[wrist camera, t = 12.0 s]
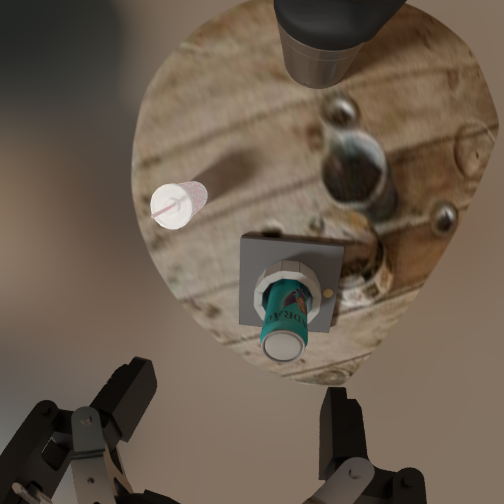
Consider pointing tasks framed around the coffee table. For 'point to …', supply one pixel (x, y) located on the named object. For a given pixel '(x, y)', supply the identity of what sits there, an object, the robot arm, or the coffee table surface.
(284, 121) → the coffee table surface
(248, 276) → the mount plate
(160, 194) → the beverage cup
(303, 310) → the beverage can
